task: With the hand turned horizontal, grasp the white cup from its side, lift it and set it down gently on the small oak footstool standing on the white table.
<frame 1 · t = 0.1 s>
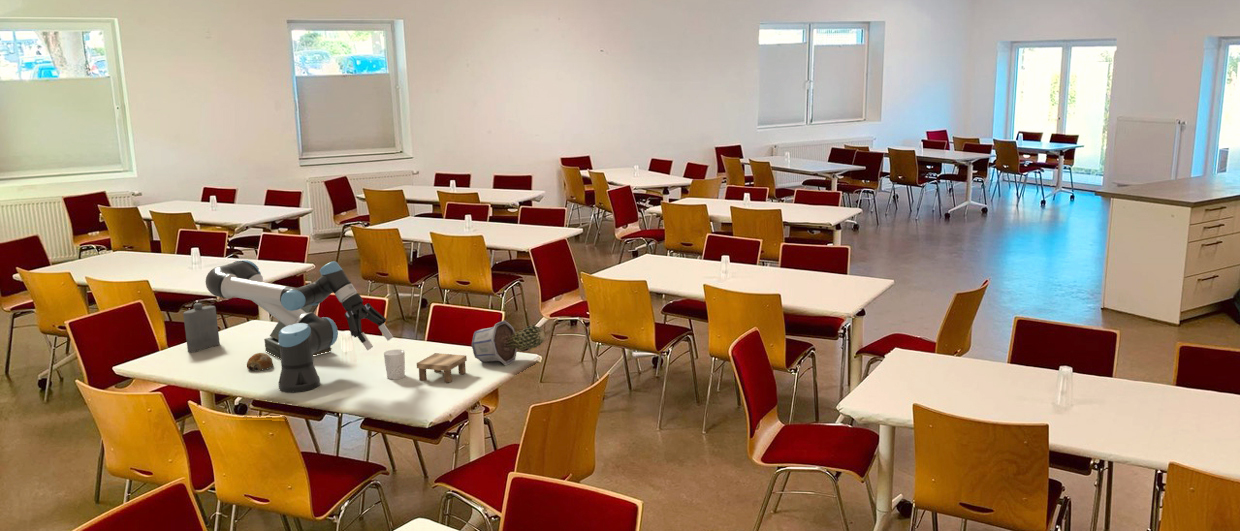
hand: (380, 343, 368), 15 cm above the table, tool tilted 35°, fingers open, 13 cm apart
white cup: (396, 377, 377), on the table
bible: (298, 353, 415), on the table
stool: (442, 376, 376), on the table
potted plant: (510, 363, 391), on the table
bread roll: (260, 368, 394), on the table
flask: (203, 348, 426), on the table
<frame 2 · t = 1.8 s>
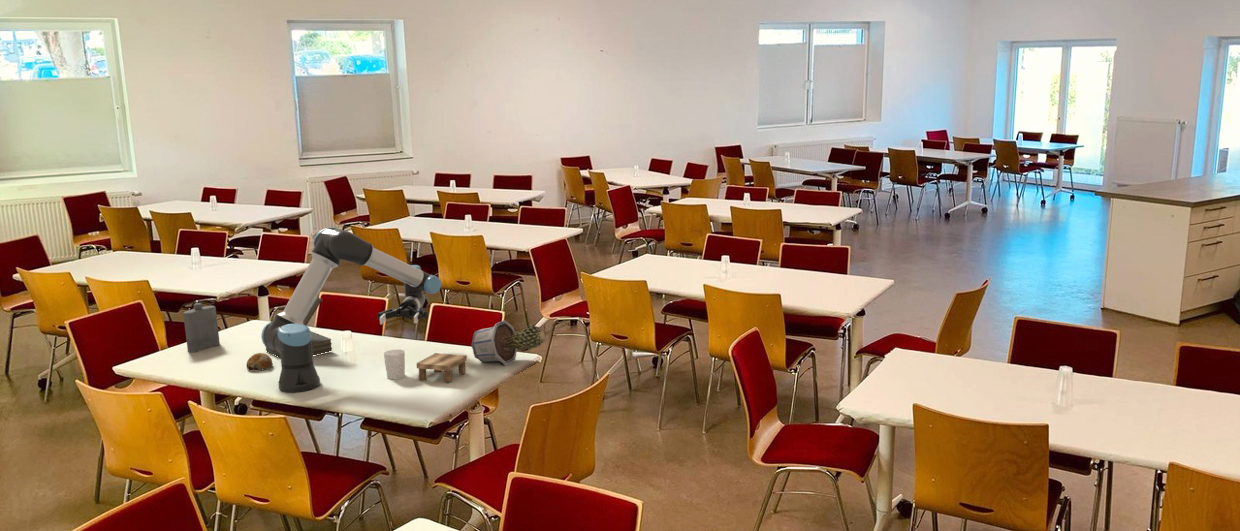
hand: (397, 320, 382), 20 cm above the table, tool horizontal, fingers open, 13 cm apart
nothing on the table moved.
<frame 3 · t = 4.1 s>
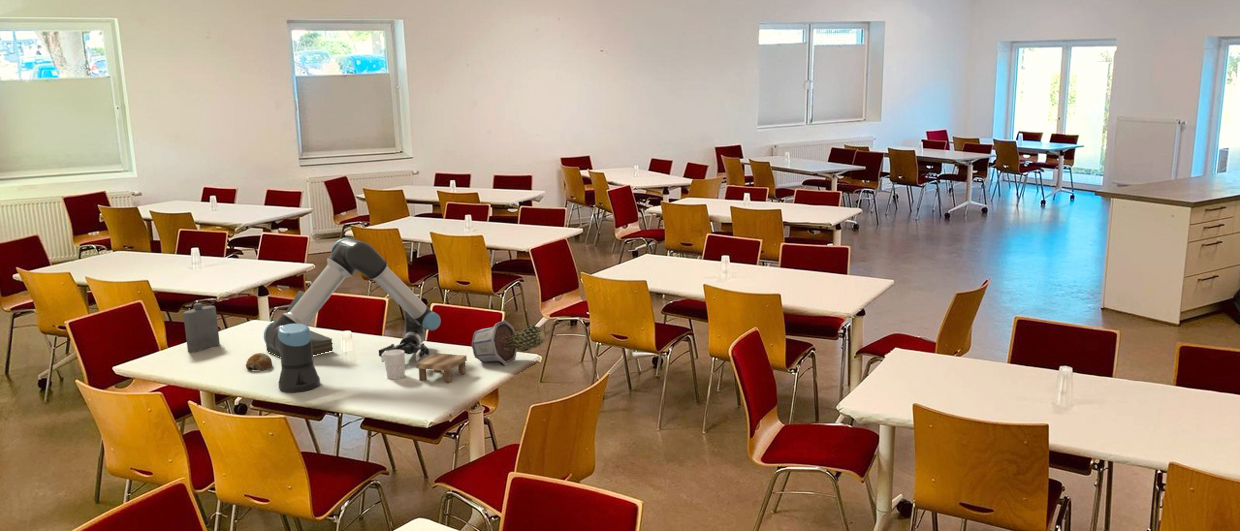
hand: (399, 358, 382), 6 cm above the table, tool horizontal, fingers open, 13 cm apart
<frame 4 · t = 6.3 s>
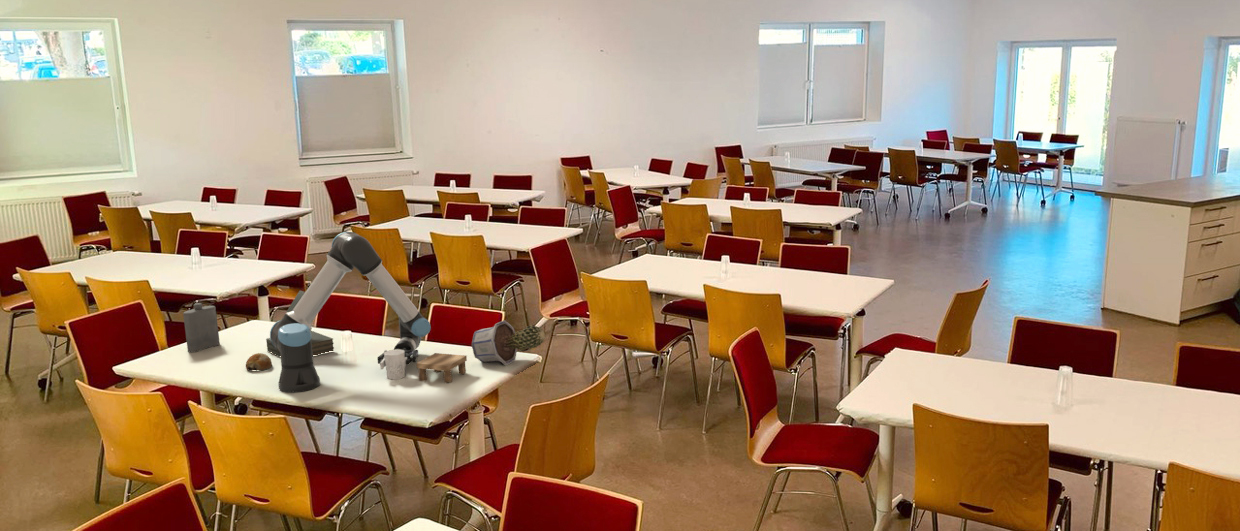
hand: (392, 365, 371), 6 cm above the table, tool horizontal, fingers closed on white cup, 8 cm apart
white cup: (396, 377, 377), on the table, touching gripper
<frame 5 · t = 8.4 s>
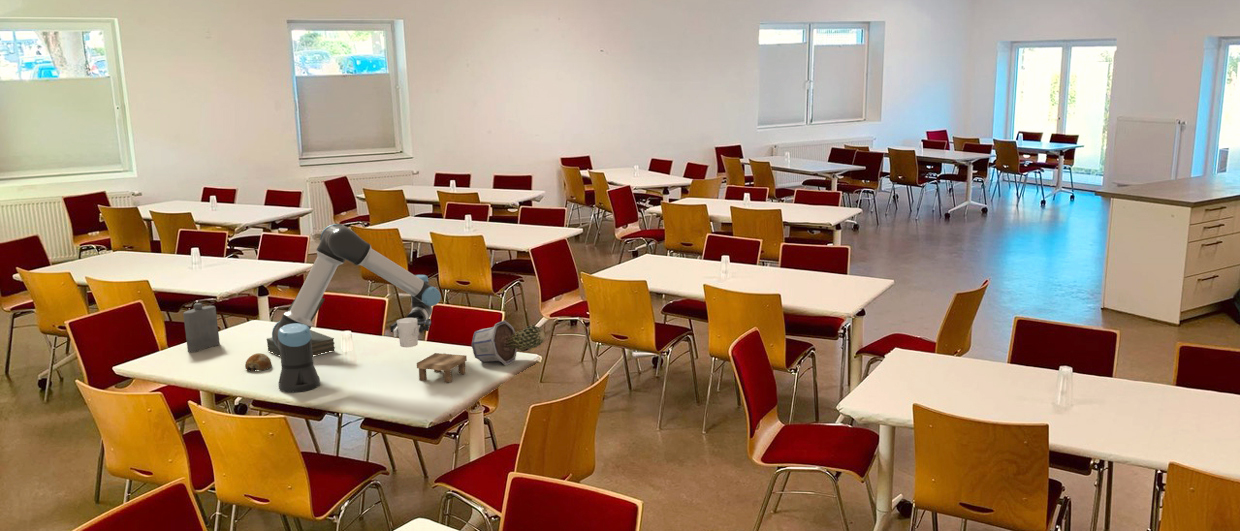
hand: (405, 333, 369), 19 cm above the table, tool horizontal, fingers closed on white cup, 8 cm apart
white cup: (409, 345, 375), point 12 cm above the table, touching gripper
when the fingers open (14 cm above the table, at t = 10.3 s): white cup drops 1 cm, resting on stool.
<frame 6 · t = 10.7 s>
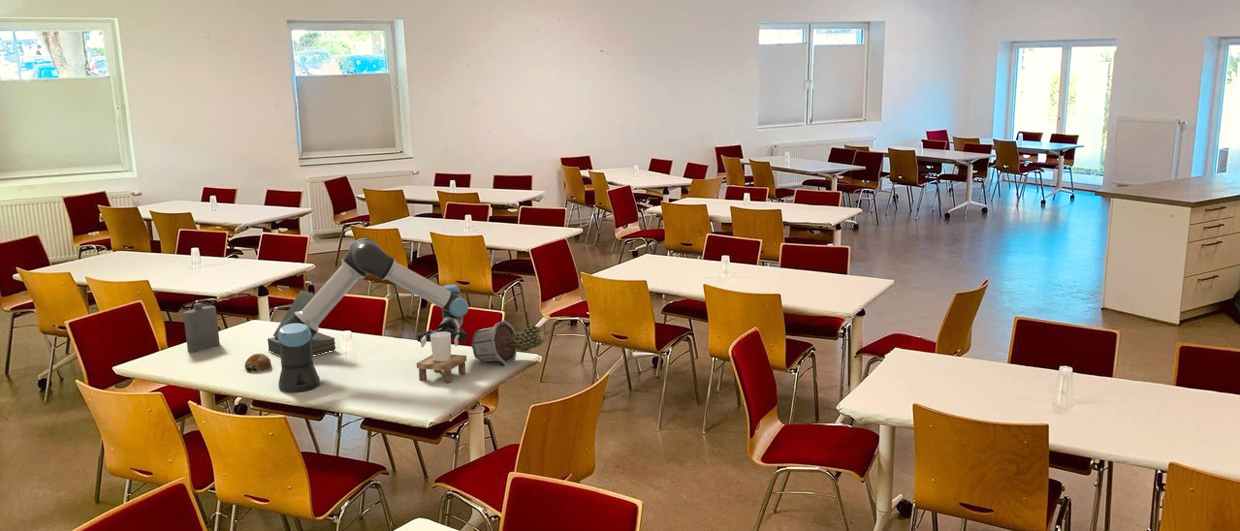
hand: (438, 343, 369), 14 cm above the table, tool horizontal, fingers open, 12 cm apart
white cup: (442, 359, 374), point 7 cm above the table, touching stool
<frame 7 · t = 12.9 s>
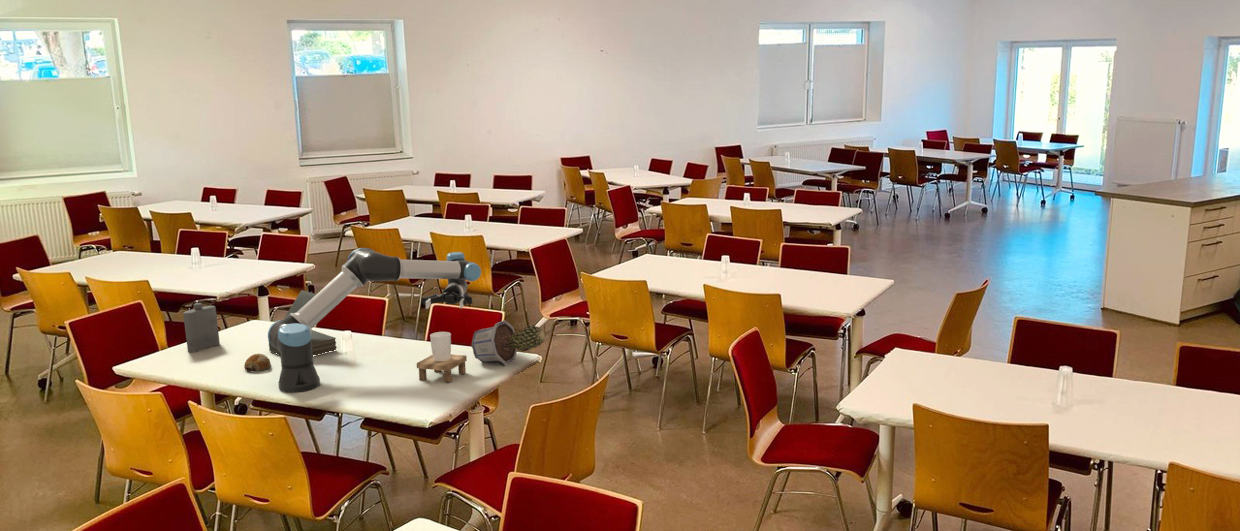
hand: (443, 305, 384), 25 cm above the table, tool horizontal, fingers open, 13 cm apart
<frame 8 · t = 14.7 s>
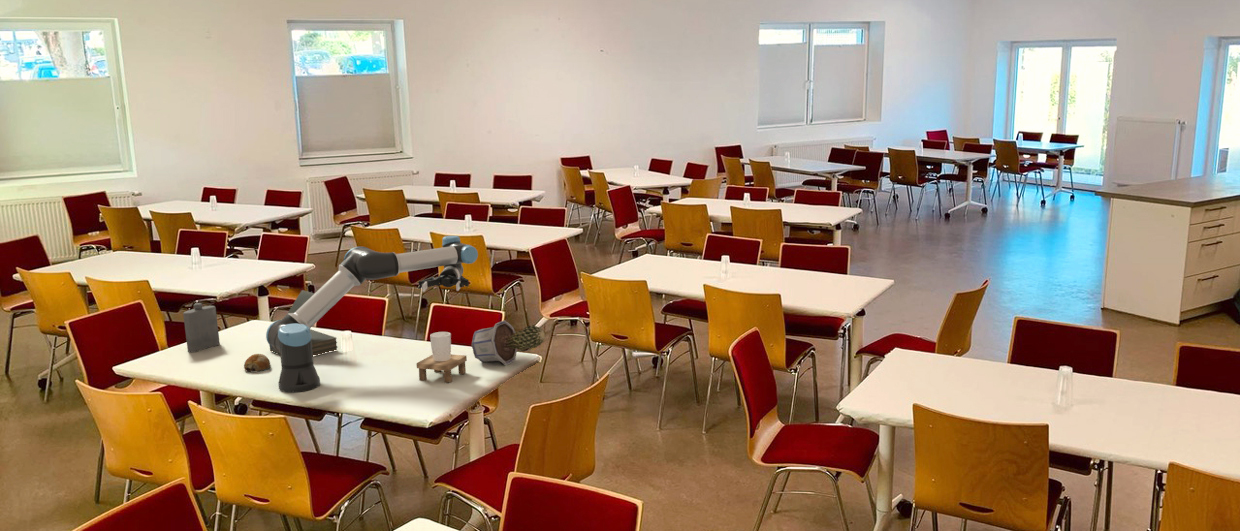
hand: (440, 288, 384), 32 cm above the table, tool horizontal, fingers open, 13 cm apart
at the end: white cup inside the target area on the stool (0.1 cm from its centre), point 6.8 cm above the stool's base; white cup tilted 0°; the gripper is holding nothing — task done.
